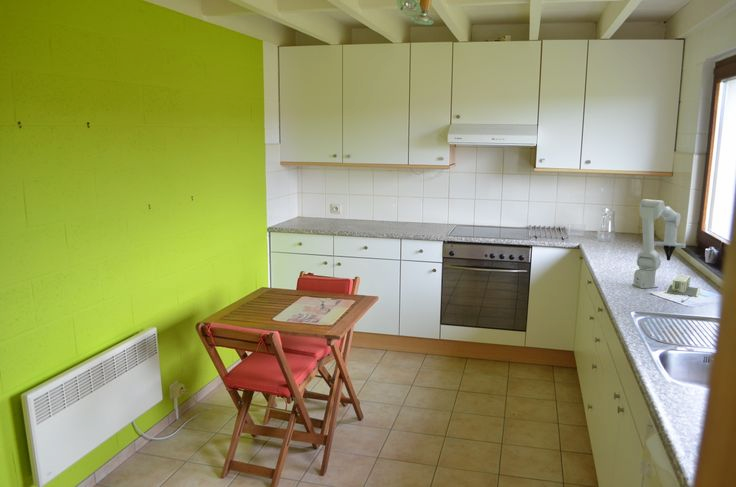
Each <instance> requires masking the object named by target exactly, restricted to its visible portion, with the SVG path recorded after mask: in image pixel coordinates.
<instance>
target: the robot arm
mask: <svg viewBox="0 0 736 487" xmlns="http://www.w3.org/2000/svg"><path fill="white" fill-rule="evenodd" d="M638 210H639V217H640V218H641V222H642V223H641V224H642V230H641V231H642V250H641V251H639V252H638V253H637V258H636V265H637V266H638V269H636V270H635V271H634V273H633V274H634V275H633V283H632V286H635V287H638V288H641V289H652V288H659V286H658V285H657V284H656V273H657V270H659V268H660V267H661V265H662V264H661V263H662V260H661V257H660V253H658V251H656V250H655V247H656V246H659V247H663V249H664V250H663V251H664V252H665V256H666V261H671V258H672V254H673V253H674V250H675V249H676V248H682V249H686V245H687V244H686V243H679V242H677V237H678V227H679V226H680V222H681V219H682V217H681V216H682V215H681V213H679V212H677V211H676V212H675V211H674V210H673V209H672V208H671V206H668V205H667V206H666V205H665V201H663V200H662V199H661V200H658V199H646V198H643V199H641V201H640V203H639V208H638ZM660 216H661V217H662V218H663V222H664V223H665V226H664V227H665V228H664V238H663V239H664V240H663V241H655V230H654V229H655V227H654V226H655V224H654V221H655V220H657V219H659V218H660Z"/></svg>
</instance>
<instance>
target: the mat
mask: <svg viewBox="0 0 736 487" xmlns="http://www.w3.org/2000/svg"><path fill="white" fill-rule="evenodd" d="M700 289H701V288H700V287H693V286H689V287H688V289H687V290H686V291H685V292H684V293H683V292H676V291H672V284H668V285H667V287H666V289H665V291H664V294H668V295H669V294H671V295H677V296H685V295H688V296H687V297H693V296H697V297H696V298H698V297H699V294H700V293H699V292H700V291H701V290H700Z"/></svg>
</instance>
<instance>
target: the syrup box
mask: <svg viewBox="0 0 736 487" xmlns="http://www.w3.org/2000/svg"><path fill="white" fill-rule="evenodd" d="M690 284H691V275H686V274H677V275H676V276H675V277H674V278H673V279H672V284H671V285H672V291H676V292H683V293H684V292H685V291H686V290H687V289H688V287H690Z"/></svg>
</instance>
